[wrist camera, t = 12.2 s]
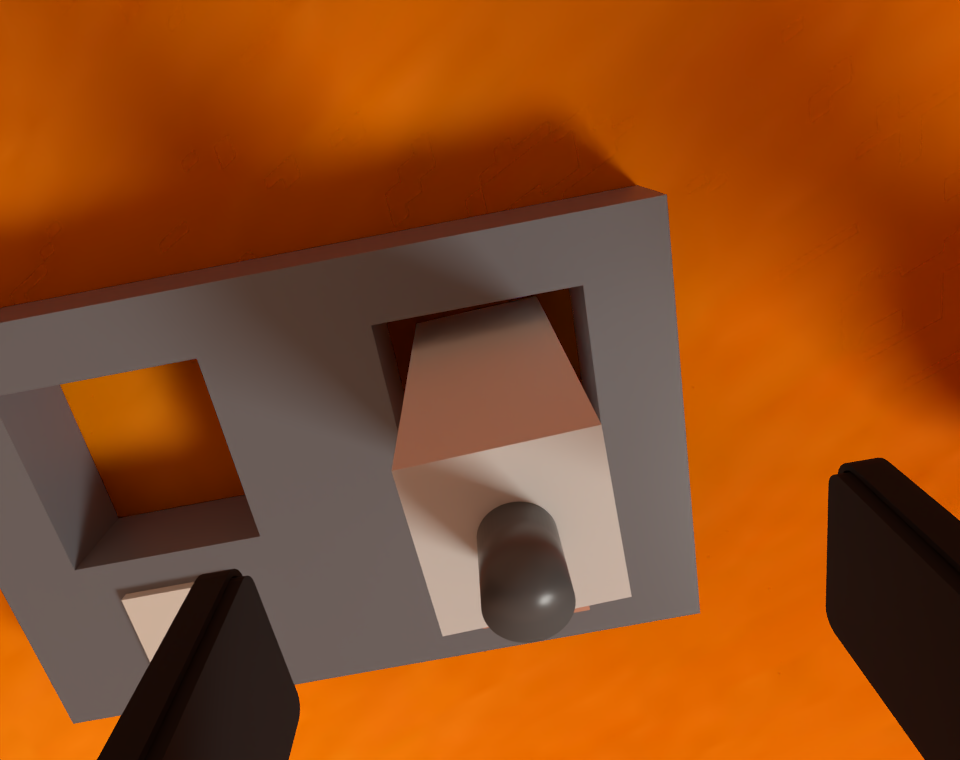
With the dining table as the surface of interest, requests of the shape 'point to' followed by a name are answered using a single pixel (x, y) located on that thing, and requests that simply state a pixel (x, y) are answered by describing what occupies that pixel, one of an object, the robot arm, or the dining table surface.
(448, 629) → the plug
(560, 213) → the socket board
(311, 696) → the dining table surface
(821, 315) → the dining table surface
